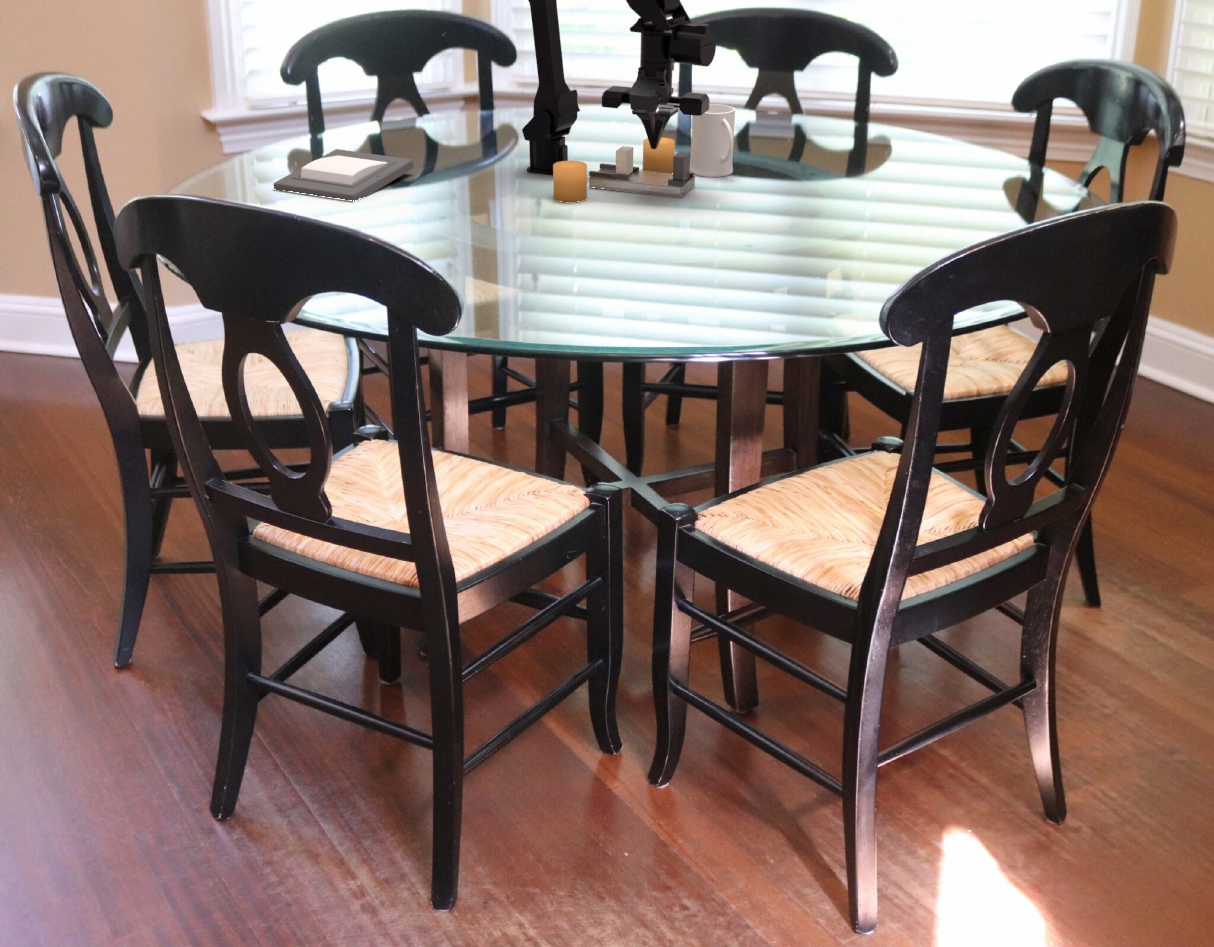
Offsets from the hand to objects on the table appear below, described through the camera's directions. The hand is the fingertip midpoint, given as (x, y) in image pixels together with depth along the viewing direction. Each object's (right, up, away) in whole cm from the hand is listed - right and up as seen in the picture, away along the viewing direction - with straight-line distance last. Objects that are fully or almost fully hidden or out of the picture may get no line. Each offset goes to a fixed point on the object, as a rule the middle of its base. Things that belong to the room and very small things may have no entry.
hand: (654, 148), depth 227 cm
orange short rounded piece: (+1, -1, +13) cm, 13 cm away
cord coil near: (-15, -9, -2) cm, 18 cm away
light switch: (-58, -5, +6) cm, 58 cm away
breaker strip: (-2, -6, +4) cm, 8 cm away
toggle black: (+5, -6, +1) cm, 7 cm away
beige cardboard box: (-5, -4, +4) cm, 8 cm away
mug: (+12, -2, +13) cm, 18 cm away
